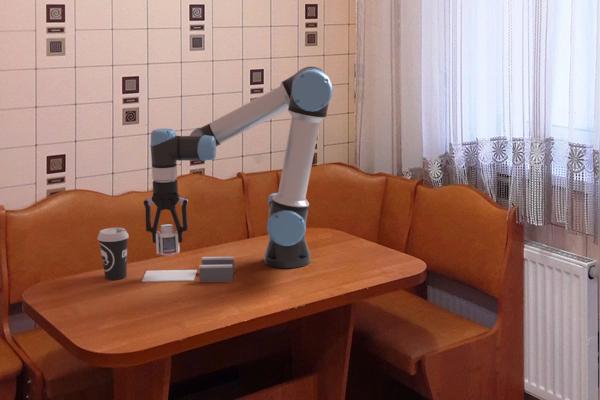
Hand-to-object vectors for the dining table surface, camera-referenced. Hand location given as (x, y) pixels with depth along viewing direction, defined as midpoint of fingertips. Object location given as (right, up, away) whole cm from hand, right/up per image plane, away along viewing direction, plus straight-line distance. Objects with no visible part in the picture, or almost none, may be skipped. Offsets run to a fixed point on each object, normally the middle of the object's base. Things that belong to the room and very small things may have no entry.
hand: (168, 252), depth 264 cm
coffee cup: (-17, -8, +2) cm, 19 cm away
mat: (0, -8, +2) cm, 8 cm away
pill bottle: (0, 0, 0) cm, 0 cm away
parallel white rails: (+15, -8, +1) cm, 17 cm away
